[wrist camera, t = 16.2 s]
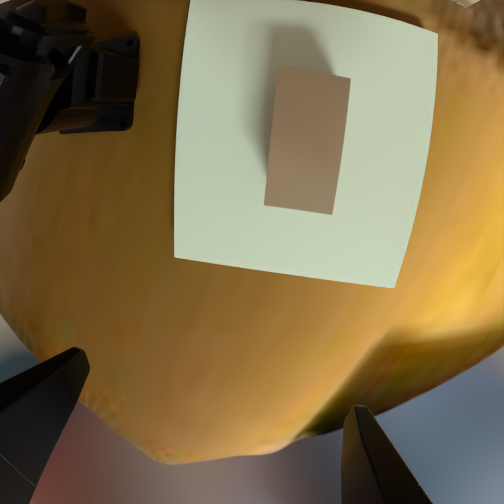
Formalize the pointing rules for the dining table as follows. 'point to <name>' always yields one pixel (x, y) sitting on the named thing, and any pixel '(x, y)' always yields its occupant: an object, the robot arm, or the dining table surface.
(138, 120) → the dining table surface
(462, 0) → the beige rectangular tray
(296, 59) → the lid
